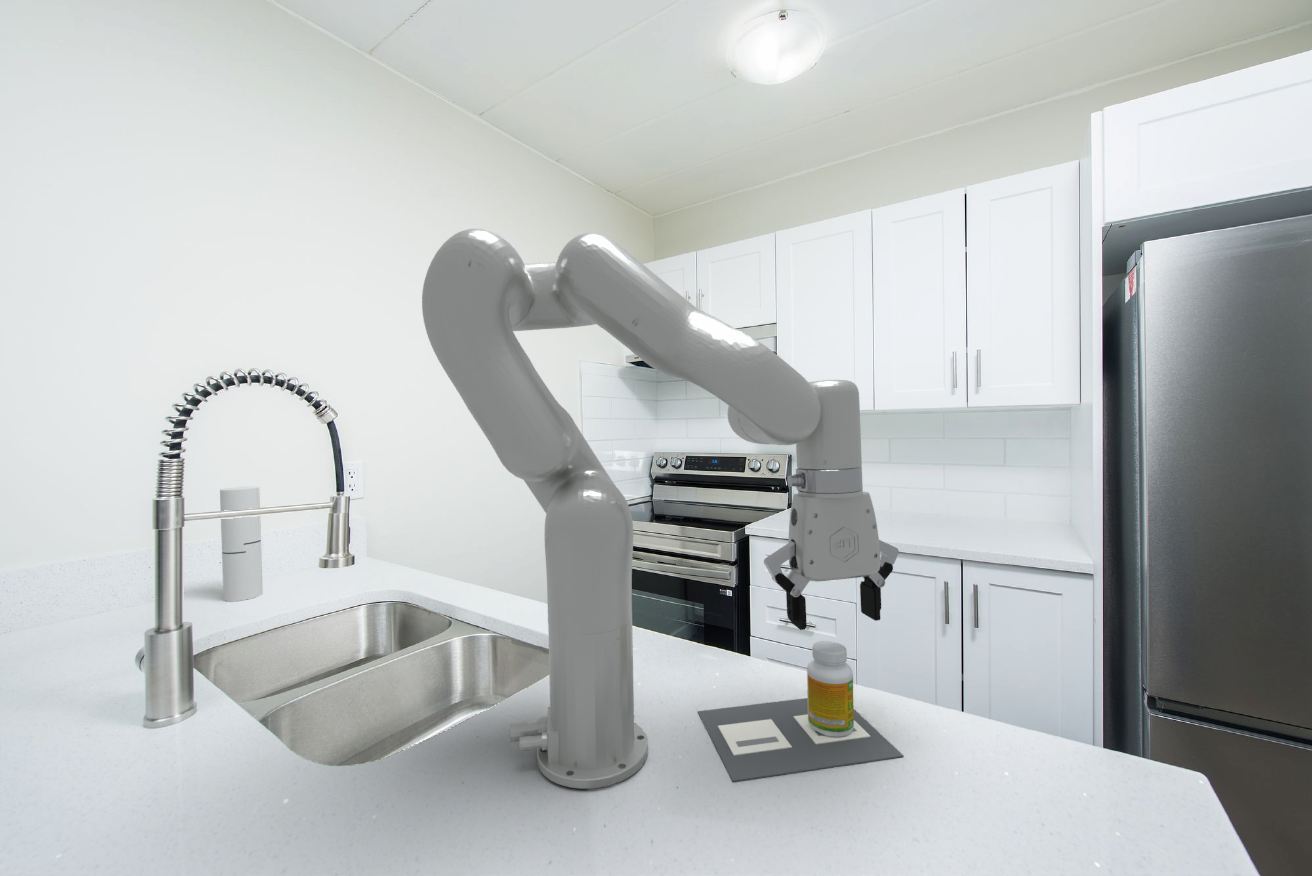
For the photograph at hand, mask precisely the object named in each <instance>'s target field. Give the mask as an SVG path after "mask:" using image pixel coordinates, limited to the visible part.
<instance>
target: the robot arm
mask: <svg viewBox="0 0 1312 876" xmlns="http://www.w3.org/2000/svg"><path fill="white" fill-rule="evenodd" d="M558 255H559V256H558V257H557V260H556V261H555V262H543V263H541V262H539V263H538V262H537V263H535V262H534V263H524V261H523V259H522V257H521V256H520V254H519V252H518V251H517V250H516V249H515V247H513V245H512V244H511V243H510V242H508V241H507V240H506V239H505V238H503V237H502V236H500V235H499V234H497V233H494V231H493V232H492V231H490V230H487V229H482V228H469V229H464V230H460V231H459V232H457V233H455V234H453V235H452V236H451V237H449V238H448V239H447V240H446V241H445V242H443V244H441V246H440V247H439V249H438V250H437V251H436V253H435V255H434V256H433V258H432V260H431V262H430V265H429V266H428V268H427V272H426V275H425V278H424V280H423V281H424V282H423V286H422V292H421V293H422V295H421V310H422V311H421V312H422V318H423V324H424V327H425V331H426V334H427V339H428V341H429V343H430V346H431V348H432V350H433V352H434V354H435V356H436V358H437V361H438V362H439V364H440V365H441V367H442V369H443V371H444V372H445V373H446V375H447V377H448V379H449V380H450V381H451V383H452V384H453V386H454V388H455V389H456V392H457V393H458V394H459V396H460V398H461V399H462V401H463V403H464V405H465V406H466V408H467V409H468V411H469V413H470V414H471V416H472V417H473V419H474V421H476V423H477V425H478V426H479V428H480V429H481V431H482V433H483V434H484V436H485V437H486V439H487V440H488V442H489V444H490V445H491V447H492V449H493V450H494V452H495V454H496V456H497V457H498V459H499V462H501V464H502V465H503V467H504V468H505V469H506V470H507V471H508V472H509V473H510V474H512V475H514V477H516V478H518V479H521V480H523V481H524V483H525V484H526V486H527V487H528V489H529V490H530V492H531V493H532V494H533V497H534V498H535V499H536V501H537V503H538V504H539V505H540V507H541V508H542V510H543V511H544V512H545V519H544V553H545V554H544V555H545V556H544V557H545V571H546V589H547V590H546V591H547V592H546V594H547V595H546V596H547V597H546V598H547V626H548V628H547V629H548V667H549V668H548V670H549V671H548V672H549V673H548V674H549V679H548V680H549V706H547V715H546V716H540V717H538V720H533V721H527V720H526V721H525V720H524V721H517V722H511V723H510V726H509V727H510V728H509V742H510V743H516V742H519V752H525V751H527V752H528V751H532V750H537V751H536V757H537V758H536V759H537V760H536V762H537V766H538V768H539V771H540V772H541V773H542V774H543V776H544V777H546V778H547V779H548V780H549V781H551V782H553V783H555V784H557V785H559V786H563V787H568V788H571V789H580V790H581V789H582V790H583V789H585V790H586V789H587V790H589V789H599V788H604V787H608V786H612V785H615V784H617V783H620V782H622V781H624V780H626V779H627V778H629V777H631V776H633V775H634V774H635V773H636V772H638V771H639V770H640V769H641V767H642V766H643V765H644V764H645V762H646V759H647V758H648V754H649V740H648V737H647V734H646V732H645V731H644V729H643V728H642V727H641V726H640V725H638V724H637V723H636V722H635V700H634V692H635V691H634V651H633V650H634V649H633V648H634V642H633V638H634V637H633V605H632V604H633V596H632V595H633V594H632V593H633V592H632V583H633V582H632V581H633V579H632V575H633V554H634V553H633V552H634V524H633V523H634V522H633V516H632V511H631V509H630V505H629V503H628V502H627V499H626V498H625V496H624V494H623V493H622V492H621V490H620V489H619V488H618V487H617V486H616V484H615V483H614V481H613V480H612V478H611V477H610V476H609V474H608V473H607V470H606V469H605V467H604V466H603V464H602V463H601V461H600V460H599V459H598V457H597V456H596V454H595V452H594V451H593V449H592V448H591V446H590V445H589V443H588V441H587V440H586V439H585V437H584V435H583V434H582V433H581V431H580V429H579V427H578V425H577V424H576V423H575V421H574V419H573V417H572V415H571V414H570V413H569V412H568V411H567V410H566V409H565V408H564V407H563V406H562V405H561V404H560V403H559V402H558V401H557V399H556V398H555V396H554V395H553V394H552V392H551V390H549V387H547V385H546V383H545V382H544V380H543V379H542V378H541V375H540V374H539V372H538V371H537V369H536V368H535V366H534V365H533V362H532V361H531V359H530V357H529V355H528V354H527V353H526V351H525V350H524V348H523V346H522V345H521V344H520V342H519V339H518V338H517V336H516V335H515V332H523V331H535V330H536V331H538V330H552V329H554V330H555V329H568V328H579V327H587V326H594V325H597V326H599V327H600V328H601V329H602V330H605V331H606V332H607V333H608V334H609V335H610V336H612V337H613V338H615V339H616V340H617V341H618V342H620V343H621V344H622V345H623V346H624V347H626V348H627V349H628V350H630V351H631V352H632V353H633V355H635V356H637V357H638V358H639V359H640V360H642V361H643V362H644V363H645V364H646V365H648V366H649V367H651V368H653V369H655V370H657V371H658V372H661V373H663V374H664V375H666V376H667V375H668V376H670V377H674V378H677V379H681V380H684V381H687V382H689V383H692V384H694V385H696V386H698V387H700V388H702V389H703V390H705V391H707V392H709V393H710V394H711V395H713V396H715V397H716V398H718V399H719V400H721V401H722V402H723V403H725V404H726V405H727V406H728V407H727V421H728V424H729V426H730V428H731V430H732V431H733V432H734V434H736V436H738V437H739V438H740V439H742V440H744V441H746V442H749V443H752V444H753V443H754V444H757V445H777V446H793V445H796V446H795V447H796V448H795V449H796V468H795V473H794V474H792V475H788V476H787V485H788V487H795V488H796V490H797V493H794V494H793V496H792V500H791V506H790V507H791V508H790V515H789V524H788V543H786V544H785V545H783V546H782V547H781V548H778V549H777V550H776V551H774V552H773V553H771V554H770V555H768V556H767V557H765V558H764V560H763V565H764V566H765V568H766V570H767V571H768V573H769V574H770V576H771V579H772V580H773V582H775V583H776V584H777V585H778V586H779V587H781V589H782V590H783V591H785V592H786V594H785V596H786V597H785V598H786V615H787V619H788V620H789V621H790V623H791V624H792V625H793V626H794V627H796V628H798V629H799V630H800V631H804V630H806V629H807V628H808V627H807V626H808V625H807V604H806V603H807V602H806V597H805V596H804V595H803V594H802V592H803V591H804V589H805V588H806V587H807V586H808V584H809V583H810V582H827V581H828V582H829V581H836V580H837V581H839V580H847V579H856V578H857V579H858V578H862V579H864V580H862V581H860V584H859V590H860V591H859V597H860V613H862V615H863V614H864V615H865V616H867V617H868V618H870V619H871V620H873V621H876V622H877V621H880V620H881V610H882V589H881V588H883V587H885V585H886V580H887V578H888V577H889V576H890V574H892V572H893V570H894V564H895V563H896V560H897V559H898V556H899V552H900V551H899V549H898V548H897V547H896V546H893V545H891V544H889V543H887V542H885V541H883V540H882V539H881V540H880V538H879V537H880V536H879V530H878V524H877V518H876V514H875V513H876V512H875V509H874V505H873V501H872V497H871V494H870V492H868V491H864V488H863V466H862V465H863V463H862V461H863V460H862V459H863V458H862V437H861V434H862V433H861V412H860V411H861V408H860V406H861V405H860V392H859V388H858V386H857V384H856V383H854V382H853V381H852V380H846V379H829V380H828V379H825V380H824V379H823V380H816V381H815V380H814V381H808V380H807V379H806V377H804V376H803V375H802V374H800V373H799V372H798V371H797V370H796V369H794V367H792V366H791V364H789V363H787V362H786V361H785V360H784V359H783V358H781V356H779V355H778V354H777V353H775V352H774V351H772V349H770V348H769V347H767V346H766V345H765V344H763V343H761V342H760V341H759V340H758V339H755V338H754V337H752V336H751V335H749V334H747V333H745V332H744V331H741V330H740V329H737V328H736V327H733V326H731V325H730V324H728V323H726V322H725V321H723V320H721V319H719V318H717V317H715V316H713V315H711V314H708V313H706V312H705V311H703V310H701V309H699V308H698V307H697V306H695V305H694V304H693V303H691V302H690V301H688V299H686V298H685V297H684V296H682V295H681V294H680V293H679V292H677V291H676V290H675V289H673V287H671V286H670V285H668V284H667V283H666V282H665V281H664V280H663V279H662V278H660V277H659V276H658V275H657V274H655V273H654V272H653V271H652V270H650V268H648V267H647V266H645V265H644V264H643V263H642V262H641V261H639V260H638V259H637V258H636V257H634V256H633V255H632V254H631V253H629V251H627V250H626V249H625V248H623V247H622V246H621V245H620V244H618V243H617V242H615V241H614V240H613V239H611V238H609V237H608V236H605V235H604V234H600V233H598V232H597V233H596V232H587V233H582V234H579V235H576V236H575V237H573V238H572V239H570V240H569V241H568V242H567V243H566V245H564V247H563V249H561V251H560V252H559V254H558ZM787 561H788V562H789V564H788V565H789V568H790V569H791V570H790V572H789V573H788V574H787V575H785V574H784V573H783V570H782V565H783V564H784V563H786V562H787Z"/></svg>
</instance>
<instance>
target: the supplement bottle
mask: <svg viewBox="0 0 1312 876" xmlns="http://www.w3.org/2000/svg"><path fill="white" fill-rule="evenodd" d="M811 652H812V658H813V659H812V660H810V661H809V663H808V665H807V667H806V674H807V675H806V676H807V677H806V680H807V684H806V686H807V698H808V722H809V725H810V726H811V727H812V728H813V729H814V730H815V731H817V732H819V733H821V734H824V735H827V736H836V737H838V736H845V735H848V734H850V733H851V732H852V731H853V728H854V710H855V708H854V672H853V671H854V670H853V669H852V667H851V666H850V664H848V663H847V661H848V657H847V656H848V655H847V653H848V652H847V648H846V646H845V645H843V644H841V643H839V642H835V641H831V640H830V641H828V640H821V641H817V642H814V643H813V644H812V651H811Z"/></svg>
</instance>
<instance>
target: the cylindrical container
mask: <svg viewBox="0 0 1312 876" xmlns="http://www.w3.org/2000/svg"><path fill="white" fill-rule="evenodd" d="M260 494H261V493H260V486H239V487H238V486H237V487H227V488H221V489H219V500H220V501H219V503H220V507H219V508H220V512H221V511H224V510H241V509H249V508H260V509H261V501H260V500H261V498H260V497H261V496H260ZM220 530H221V534H220V535H221V561H222V562H221V566H222V567H221V568H222V586H223V587H222V588H223V589H222V591H223V593H222V596H223V597H222V598H223V601H224V600H225V601H224V602H228V601H233V602H240V601H241V600H243V601H247V600H246V599H248V600H251V599H255V598H254V597H256V598H258V597H260V595H261V596H262V595H263V594H264V590H263V589H264V588H263V565H262V563H263V561H262V560H263V557H262V530H261V515H260V516H257V517H242V518H233V519H221V518H220ZM241 602H242V601H241Z"/></svg>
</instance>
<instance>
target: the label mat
mask: <svg viewBox="0 0 1312 876" xmlns="http://www.w3.org/2000/svg"><path fill="white" fill-rule="evenodd" d="M697 714H698V716H699V718H700V719H701V721H702V724H703V725H704V728H705V730H706V731H707V734H708V736H709V738H710V739H711V742H712V744H713V746H714V748H715V750H716V752H717V753H718V755H719V758H720V760H721V762H722V764H723V765H724V768H725V770H726V771H727V773H728V776H729V777H730V779H731V781H732V782H733V783H735V782H743V781H749V780H755V779H762V778H770V777H777V776H784V775H790V774H797V773H805V772H811V771H817V770H824V769H831V768H839V767H845V766H851V765H852V766H853V765H860V764H865V763H866V764H867V763H871V762H878V761H885V760H892V759H900V758H904V756H905V755H904V754H903V753H901V752H900V750H898V748H896V747H895V746H894V744H892V743H891V742H890V741H889V740H888V739H887V738H885V737H884V736H883V735H882V734H881V733H880V732H879V731H878V730H877V728H875V727H874V726H873V725H872V724H871V723H870V722H869V721H867V720H866V719H865V718H864V717H863V716H862V715H861V714H860V713H859V712H858V711H857V710H856V709H854V728H853V731H852V732H851V733H850V734H848V735H845V736H838V737H836V736H827V735H824V734H821V733H819V732H817V731H815V730H814V729H813V728H812V727H811V726H810V725H809V722H808V697H804V698H797V699H788V700H781V701H780V700H779V701H772V702H762V703H754V704H748V705H747V704H746V705H738V706H731V707H730V706H729V707H722V708H721V707H720V708H713V709H704V710H697Z"/></svg>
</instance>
